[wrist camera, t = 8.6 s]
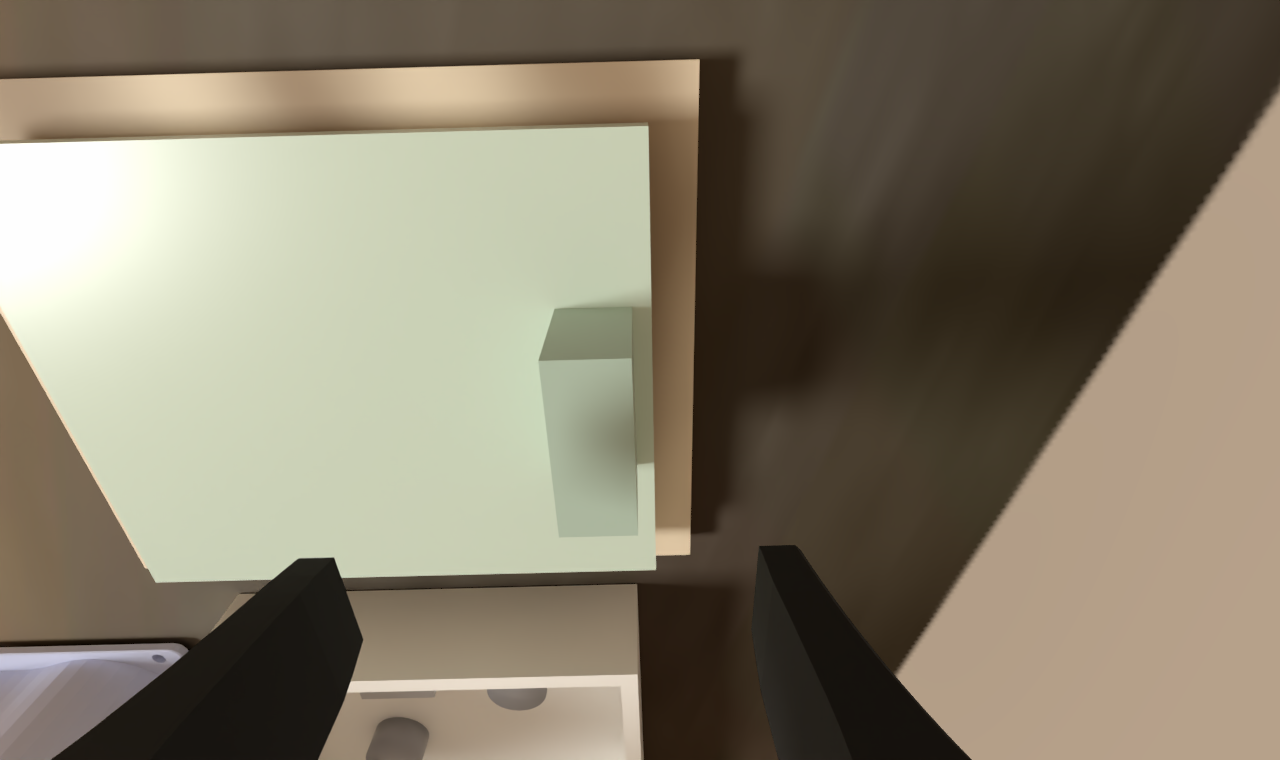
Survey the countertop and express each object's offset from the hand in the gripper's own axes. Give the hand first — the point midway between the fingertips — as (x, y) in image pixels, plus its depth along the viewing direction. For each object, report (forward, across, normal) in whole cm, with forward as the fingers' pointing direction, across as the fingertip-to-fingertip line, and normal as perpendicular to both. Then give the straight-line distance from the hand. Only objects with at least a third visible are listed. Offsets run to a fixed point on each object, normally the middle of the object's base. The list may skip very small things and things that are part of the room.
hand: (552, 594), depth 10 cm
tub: (+10, +7, +17) cm, 21 cm away
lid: (+8, +6, 0) cm, 10 cm away
